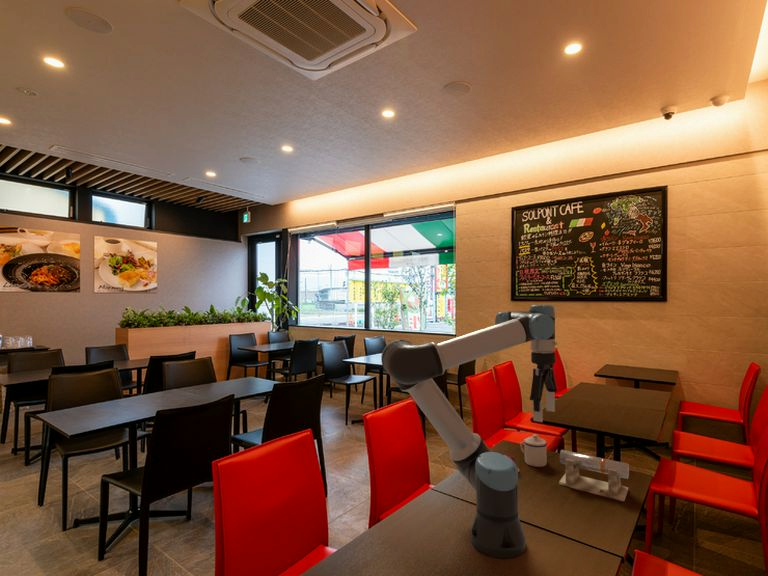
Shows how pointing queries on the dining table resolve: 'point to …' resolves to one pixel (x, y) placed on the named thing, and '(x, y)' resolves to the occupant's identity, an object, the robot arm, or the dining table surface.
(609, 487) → the collar stand
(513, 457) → the apple
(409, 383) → the robot arm
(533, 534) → the dining table surface
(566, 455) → the steel tube
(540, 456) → the teacup with lid
